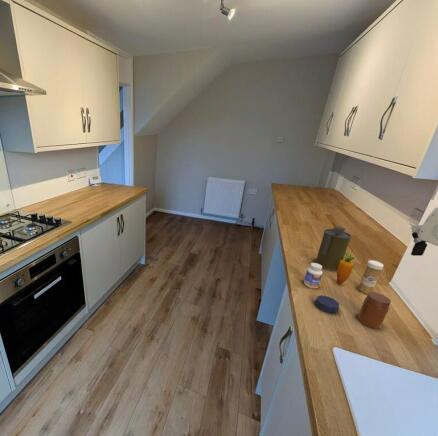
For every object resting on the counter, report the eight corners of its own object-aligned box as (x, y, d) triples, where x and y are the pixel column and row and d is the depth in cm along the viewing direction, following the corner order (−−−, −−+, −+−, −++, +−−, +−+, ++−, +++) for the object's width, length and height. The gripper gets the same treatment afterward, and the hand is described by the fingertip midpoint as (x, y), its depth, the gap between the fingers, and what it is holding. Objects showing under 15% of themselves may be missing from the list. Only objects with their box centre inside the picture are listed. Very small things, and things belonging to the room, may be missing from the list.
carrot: (348, 288, 100) (360, 257, 95) (334, 286, 102) (345, 255, 96) (343, 281, 104) (354, 251, 99) (330, 279, 106) (340, 249, 101)
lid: (320, 312, 86) (322, 306, 85) (311, 299, 93) (313, 294, 92) (341, 314, 85) (343, 308, 84) (330, 302, 92) (332, 296, 91)
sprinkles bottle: (359, 292, 98) (371, 264, 93) (356, 286, 102) (366, 258, 97) (374, 295, 96) (386, 266, 91) (369, 289, 100) (381, 261, 95)
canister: (323, 258, 124) (334, 222, 117) (345, 268, 115) (358, 230, 108) (309, 261, 120) (319, 225, 113) (330, 272, 111) (343, 233, 104)
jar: (366, 314, 86) (376, 290, 82) (385, 327, 80) (397, 302, 77) (352, 316, 85) (362, 292, 81) (371, 330, 79) (382, 304, 75)
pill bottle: (311, 289, 99) (317, 269, 96) (300, 282, 104) (305, 262, 100) (321, 287, 100) (327, 267, 97) (310, 280, 105) (315, 261, 102)
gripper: (413, 198, 71) (392, 249, 77) (495, 218, 55) (460, 281, 61) (437, 198, 71) (414, 249, 77) (525, 218, 55) (488, 280, 61)
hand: (434, 263), depth 69 cm, fingers open, 9 cm apart
